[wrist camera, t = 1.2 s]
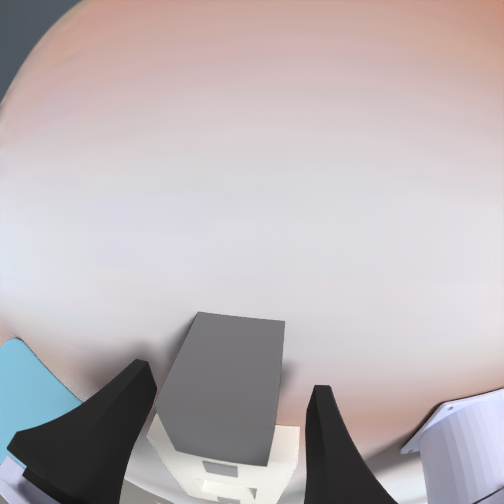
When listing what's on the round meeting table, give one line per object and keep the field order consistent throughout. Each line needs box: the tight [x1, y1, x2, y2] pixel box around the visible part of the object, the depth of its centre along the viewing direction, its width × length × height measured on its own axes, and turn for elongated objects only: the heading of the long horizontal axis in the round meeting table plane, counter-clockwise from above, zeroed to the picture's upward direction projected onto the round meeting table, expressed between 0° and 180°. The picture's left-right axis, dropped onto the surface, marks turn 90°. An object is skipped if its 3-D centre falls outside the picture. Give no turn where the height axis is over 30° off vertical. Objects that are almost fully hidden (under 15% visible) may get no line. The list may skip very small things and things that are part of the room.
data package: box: [0, 338, 82, 469], centre depth 15 cm, size 12×4×12 cm, turn 34°
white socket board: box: [146, 413, 300, 504], centre depth 19 cm, size 10×18×3 cm, turn 179°
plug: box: [154, 312, 285, 467], centre depth 11 cm, size 4×4×6 cm
